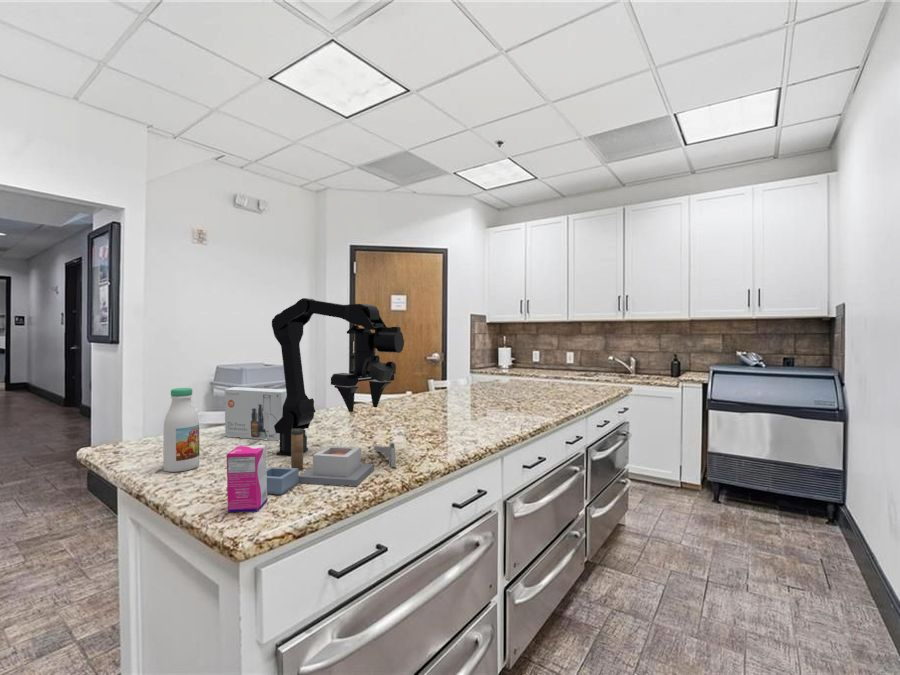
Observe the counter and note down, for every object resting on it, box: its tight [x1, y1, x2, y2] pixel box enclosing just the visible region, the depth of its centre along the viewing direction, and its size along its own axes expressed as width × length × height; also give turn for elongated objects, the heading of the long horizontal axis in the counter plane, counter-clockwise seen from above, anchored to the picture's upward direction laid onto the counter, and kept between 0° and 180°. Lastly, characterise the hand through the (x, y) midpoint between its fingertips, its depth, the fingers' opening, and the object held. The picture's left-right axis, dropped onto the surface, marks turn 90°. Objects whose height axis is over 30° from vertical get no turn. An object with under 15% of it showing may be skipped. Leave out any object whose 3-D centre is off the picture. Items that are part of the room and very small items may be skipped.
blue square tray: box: [267, 466, 300, 496], centre depth 96 cm, size 7×7×4 cm
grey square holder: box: [299, 445, 375, 487], centre depth 104 cm, size 14×12×6 cm
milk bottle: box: [162, 387, 200, 473], centre depth 109 cm, size 8×8×20 cm
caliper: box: [373, 442, 397, 468], centre depth 120 cm, size 20×1×6 cm, turn 23°
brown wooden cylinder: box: [290, 428, 304, 472], centre depth 109 cm, size 3×3×10 cm
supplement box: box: [226, 444, 268, 513], centre depth 86 cm, size 6×6×12 cm
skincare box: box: [224, 386, 287, 441], centre depth 141 cm, size 21×5×16 cm, turn 77°
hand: (363, 409), depth 117 cm, fingers open, 9 cm apart
